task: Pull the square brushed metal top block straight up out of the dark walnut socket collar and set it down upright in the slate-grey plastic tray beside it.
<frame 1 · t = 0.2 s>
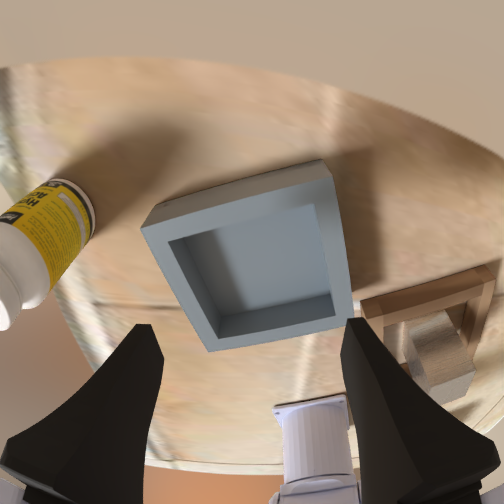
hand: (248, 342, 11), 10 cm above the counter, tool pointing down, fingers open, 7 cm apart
supplement bottle: (66, 210, 19), on the counter
tray: (258, 253, 21), on the counter
socket block: (423, 330, 25), on the counter
brushed metal top block: (435, 359, 22), in the socket block
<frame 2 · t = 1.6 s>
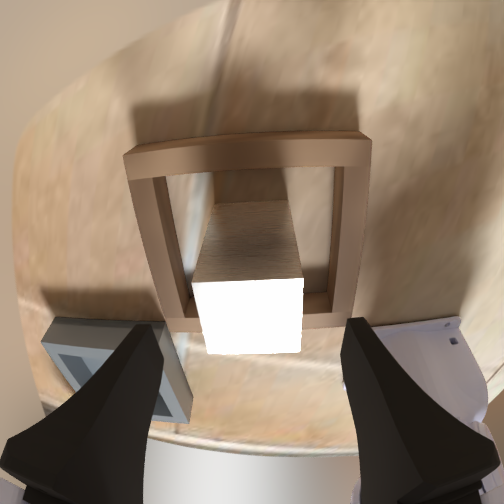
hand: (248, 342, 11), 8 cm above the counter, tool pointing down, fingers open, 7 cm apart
tray: (125, 361, 25), on the counter
socket block: (253, 234, 18), on the counter
brushed metal top block: (252, 269, 15), in the socket block
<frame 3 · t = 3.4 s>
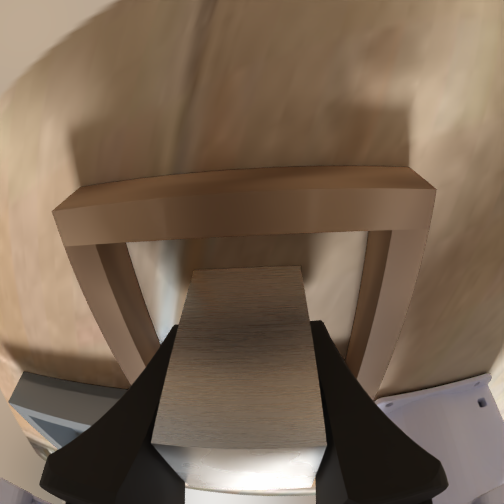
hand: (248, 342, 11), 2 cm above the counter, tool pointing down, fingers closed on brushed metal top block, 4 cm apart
tray: (105, 420, 20), on the counter
socket block: (250, 307, 13), on the counter
brushed metal top block: (247, 377, 10), in the socket block, touching gripper
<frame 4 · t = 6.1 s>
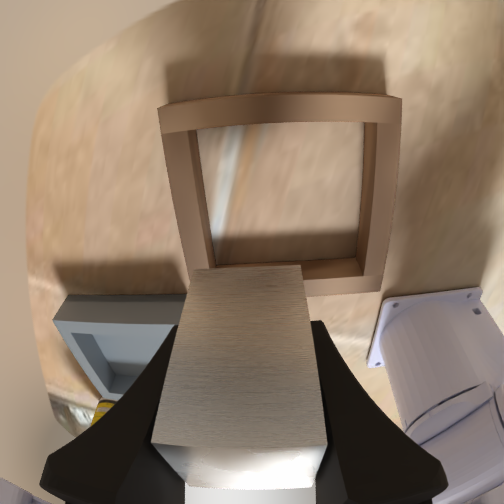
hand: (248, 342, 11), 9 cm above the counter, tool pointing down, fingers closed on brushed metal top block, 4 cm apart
tray: (141, 342, 25), on the counter
socket block: (285, 195, 18), on the counter
brushed metal top block: (247, 376, 10), point 10 cm above the counter, touching gripper
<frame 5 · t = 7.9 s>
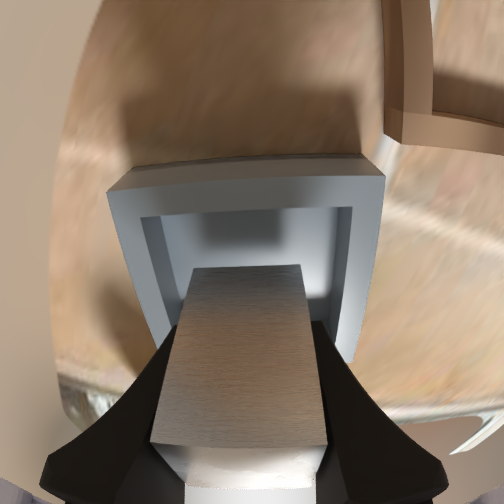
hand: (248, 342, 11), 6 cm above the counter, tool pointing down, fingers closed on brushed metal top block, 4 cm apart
tray: (252, 257, 16), on the counter
socket block: (485, 36, 9), on the counter
brushed metal top block: (247, 376, 10), point 7 cm above the counter, touching gripper
when the fingers open (4 cm above the counter, at t = 9.1 s): brushed metal top block drops 1 cm, resting on tray.
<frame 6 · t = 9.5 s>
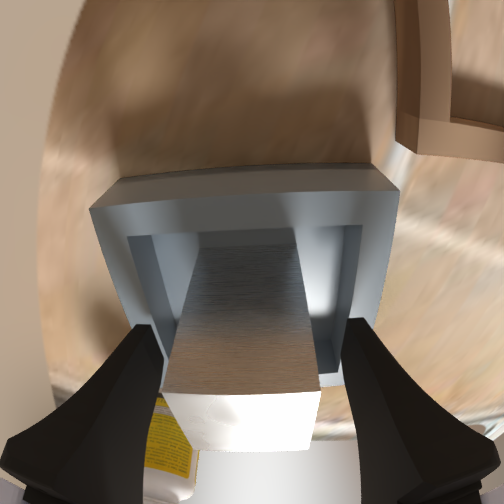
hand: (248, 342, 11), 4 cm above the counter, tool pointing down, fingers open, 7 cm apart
supplement bottle: (170, 400, 22), on the counter
tray: (251, 274, 15), on the counter
socket block: (502, 36, 8), on the counter
brushed metal top block: (248, 343, 11), in the tray, point 4 cm above the counter
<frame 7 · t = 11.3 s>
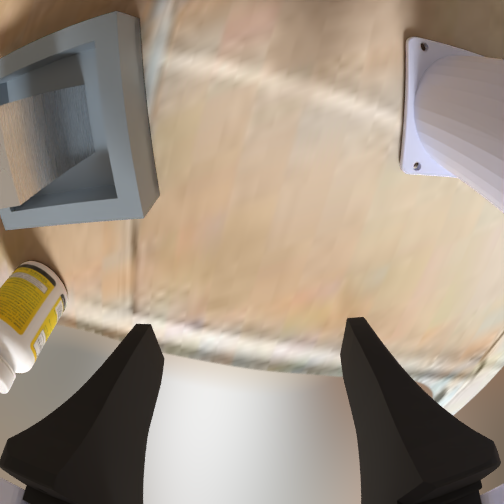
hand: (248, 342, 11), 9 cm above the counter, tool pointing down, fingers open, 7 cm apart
supplement bottle: (44, 284, 22), on the counter
tray: (68, 123, 15), on the counter
brushed metal top block: (25, 141, 12), in the tray, point 4 cm above the counter
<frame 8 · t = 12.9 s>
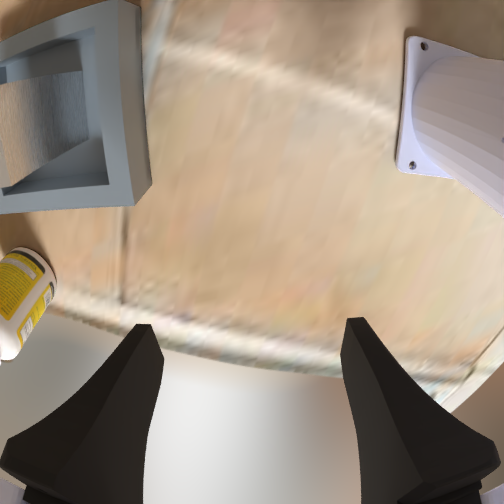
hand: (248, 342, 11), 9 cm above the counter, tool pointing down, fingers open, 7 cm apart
supplement bottle: (33, 271, 22), on the counter
tray: (64, 109, 15), on the counter
brushed metal top block: (20, 124, 11), in the tray, point 4 cm above the counter
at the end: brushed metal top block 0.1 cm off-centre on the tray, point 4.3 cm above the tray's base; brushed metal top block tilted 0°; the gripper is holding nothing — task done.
